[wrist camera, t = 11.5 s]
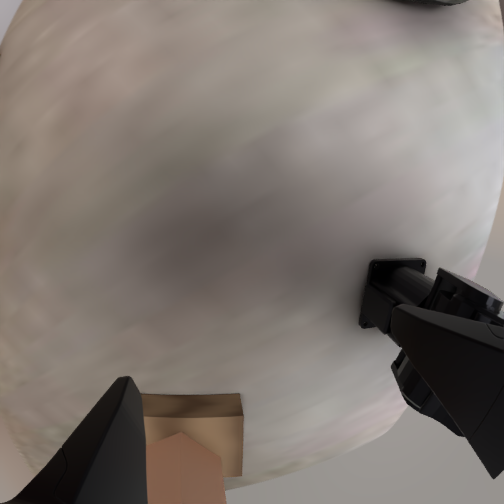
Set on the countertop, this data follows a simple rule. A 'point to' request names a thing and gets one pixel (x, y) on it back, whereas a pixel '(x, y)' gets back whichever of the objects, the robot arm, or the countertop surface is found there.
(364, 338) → the countertop surface
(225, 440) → the bronze slab
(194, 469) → the terracotta block
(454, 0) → the pressure cooker
